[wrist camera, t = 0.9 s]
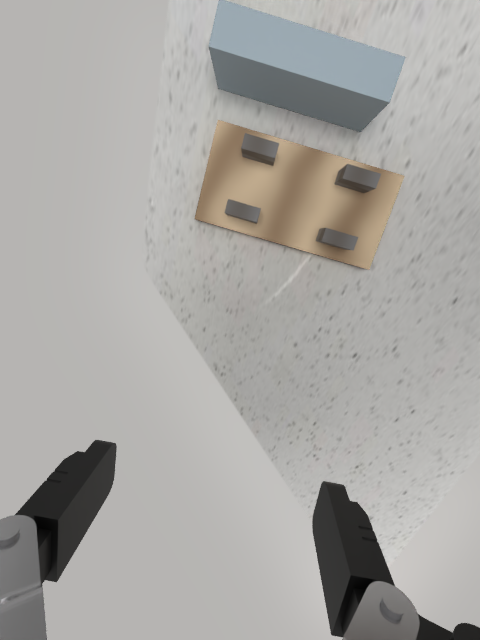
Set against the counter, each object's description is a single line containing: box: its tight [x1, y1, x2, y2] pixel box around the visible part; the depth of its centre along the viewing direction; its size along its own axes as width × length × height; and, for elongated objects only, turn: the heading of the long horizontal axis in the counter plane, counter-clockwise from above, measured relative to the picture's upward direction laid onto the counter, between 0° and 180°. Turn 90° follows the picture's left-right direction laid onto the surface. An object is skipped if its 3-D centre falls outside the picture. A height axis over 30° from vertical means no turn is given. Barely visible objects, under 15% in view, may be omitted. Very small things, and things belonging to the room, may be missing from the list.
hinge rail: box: [195, 120, 404, 270], centre depth 30 cm, size 18×9×4 cm, turn 74°
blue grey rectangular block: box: [209, 0, 405, 132], centre depth 27 cm, size 14×3×7 cm, turn 74°
